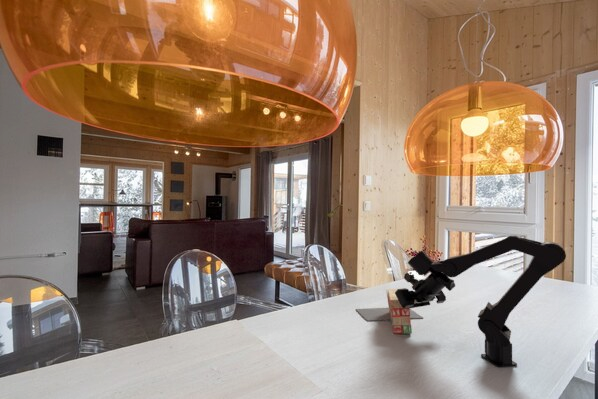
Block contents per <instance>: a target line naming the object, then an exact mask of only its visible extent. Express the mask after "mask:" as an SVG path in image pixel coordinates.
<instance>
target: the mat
mask: <svg viewBox="0 0 598 399" xmlns="http://www.w3.org/2000/svg"><path fill="white" fill-rule="evenodd" d="M355 311H356V312H357V313H358V314H359V315H360V316H361V317H362V318H363V319H364V320H365V321H366V322H379V321H381V322H382V321H391V318H390V313H389V307H373V308H370V307H369V308H356V309H355ZM419 319H421V320H422V319H424V317H423V316H421V314H419V313H417V312H415V311H414V310H412V308H410V320H419Z"/></svg>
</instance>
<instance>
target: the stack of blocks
mask: <svg viewBox="0 0 598 399" xmlns="http://www.w3.org/2000/svg"><path fill="white" fill-rule="evenodd" d="M397 289H398V288H389V289H386V297H387V304H388V305H387V306H388V308H389V313H390V318H391V320H390V321H391V325H392V326H391V327H392V332H393V334H395V335H399V334H400V335H401V334H405V335H407V334H409V335H410V334H412V333H413V332H412V329H413V328H412V324H411V319H410V309H411V308H410V309H409V308H403V307H402V306H401V304H400V302H399V300H398V298H397V296H396V295H395V292H396V291H397Z"/></svg>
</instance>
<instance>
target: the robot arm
mask: <svg viewBox="0 0 598 399" xmlns="http://www.w3.org/2000/svg"><path fill="white" fill-rule="evenodd" d="M511 251H517V252H520V253H523V254H526V255H529V256H531V257H532V258H531V260H530V261H529V264H528V265H527V267H526V268H525V269H524V271H523V272H522V273H520V275H519V276H518V278H517V279H515V281H514V283H513V284H511V286H510V287H509V288H508V289H507V291H506V292H505V293H504V294H503V295H502V296H501V298H500V299H499V300H498V301H496V302H495V303H494V304H492V303H490V301H488V302H487V303H486V306H485V307H484V308H483V309H480V311H479V313H478V315H477V318H478V321H477V326H478V329H479V330H480V332H482V334H483V335H484V337H485V339H484V353H481V354H480V357H482V358H483V359H485V360H486V361H488V362H490V363H491V364H493V365H494V366H496V367H497V368H502V367H503V368H504V367H513V366H518V363H517V362H515V361H514V360H513V343H511V341H510V340H511V335H512V334H511V333H512V331H511V329H510V328H509V327H508V326H507V325H506V322H507V320H508V318H509V315H510V314H511V313H512V312H513V310H514V309H515V308H516V307H517V306H518V304H520V302H521V301H522V300H523V299H524V298H525V297H526V296H527V294H528V293H529V292H530V291H531V289H533V288H534V287H535V285H536V284H537V283H538V282H539V281H540V280H541V278H542V277H543V276H545V275H547V274H549V273H550V272H551V271H553V270H554V269H556V268H557V267H559V266H560V265H561V264H562V263H564V262H565V260H566V259H567V255H566V254H567V253H566V250H564V248H563V247H562V246H561V245H560V244H559V243H556V242H555V241H543V242H540V241H536V240H533V239H529V238H524V237H520V236H518V235H515V234H510V235H508V236H506V237H505V238H502V239H501V240H498V241H496V242H493V243H491V244H489V245H485V246H484V247H481V248H479V249H476V250H473V251H472V252H469V253H464V254H458V255H455V256H450V257H448V258H446V259H444V260H437V261H434V260H433V259H432V258H431V257H430V256H428V254H427V253H426V252H425V251H424V250H420V251H419V252H418V253H417V254H416V255H414V256H412V257H411V258H410V259H409V260H408V262H407V264H408V265H409V266H410V267H411V268H412V269H413V270H409V271H406V273H404V276H403V279H404V280H405V281H406V282H407V283H410V284H411V285H412V286H411V288H412V290H409V289H408V288H405V287H403V288H396V289H397V291H396V292H395V295H396V296H397V298H398V300H399V302H400V304H401V306H402V307H403V308H409V309H414V308H420V307H425V306H426V307H427V306H430V305H431V302H434V301H436V304H443V303H444V302H445V301H446V299H447V296H446V295H445V293H444V292H443V289H445V288H446V289H447V290H448V291H449V292H450V291H452V290H453V289H454V288H455V287H456V283H455V280H454V279H451V278H456V277H458V276H460V275H461V274H462V273H464V272H466V271H468V270H469V269H471V268H472V267H473V266H476V265H479V264H481V263H484V262H486V261H488V260H491V259H493V258H496V257H498V256H502V255H504V254H506V253H509V252H511ZM429 273H430V274H429ZM427 275H428V276H427ZM426 276H427V277H426ZM435 299H436V300H435Z"/></svg>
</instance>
